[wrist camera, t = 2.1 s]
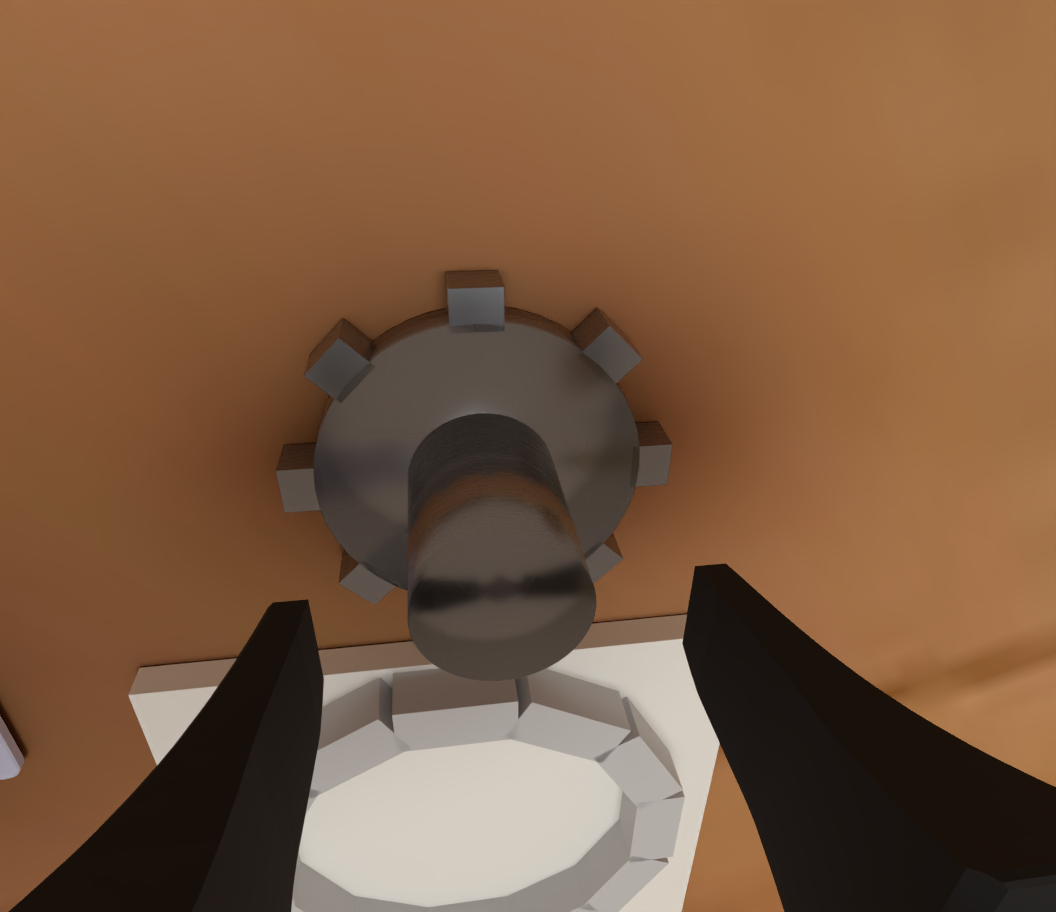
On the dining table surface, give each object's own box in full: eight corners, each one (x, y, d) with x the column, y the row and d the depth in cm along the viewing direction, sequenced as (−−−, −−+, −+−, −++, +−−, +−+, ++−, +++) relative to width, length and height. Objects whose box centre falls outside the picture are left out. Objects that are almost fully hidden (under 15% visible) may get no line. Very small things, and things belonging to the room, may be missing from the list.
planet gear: (315, 607, 21) (285, 799, 16) (251, 278, 16) (176, 404, 11) (640, 577, 22) (709, 747, 17) (676, 263, 17) (792, 370, 12)
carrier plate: (276, 1021, 33) (261, 1137, 30) (139, 667, 21) (87, 793, 18) (658, 961, 35) (685, 1062, 32) (731, 609, 23) (787, 711, 20)
